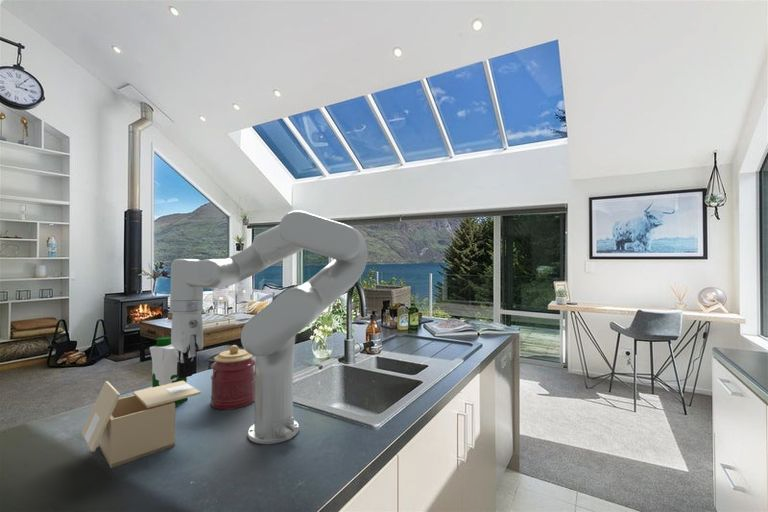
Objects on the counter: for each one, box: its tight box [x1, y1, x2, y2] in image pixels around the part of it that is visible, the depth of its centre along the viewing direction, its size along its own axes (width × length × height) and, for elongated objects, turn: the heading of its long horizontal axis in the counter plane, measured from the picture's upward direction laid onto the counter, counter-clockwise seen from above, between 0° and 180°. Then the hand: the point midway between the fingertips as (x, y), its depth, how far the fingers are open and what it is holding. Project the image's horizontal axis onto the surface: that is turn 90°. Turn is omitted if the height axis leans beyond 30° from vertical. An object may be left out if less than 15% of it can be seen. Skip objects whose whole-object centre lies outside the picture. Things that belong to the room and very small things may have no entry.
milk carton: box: [149, 336, 189, 407], centre depth 113 cm, size 9×9×20 cm
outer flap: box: [80, 380, 121, 452], centre depth 82 cm, size 12×12×1 cm
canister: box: [210, 344, 255, 410], centre depth 114 cm, size 13×13×18 cm
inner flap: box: [132, 381, 202, 408], centre depth 92 cm, size 12×12×1 cm
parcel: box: [98, 394, 176, 469], centre depth 87 cm, size 13×12×10 cm
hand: (184, 376), depth 95 cm, fingers closed
